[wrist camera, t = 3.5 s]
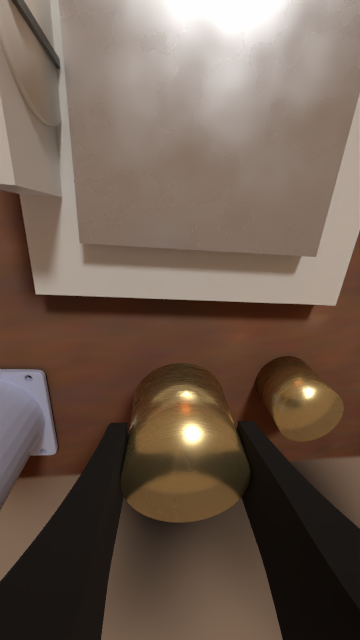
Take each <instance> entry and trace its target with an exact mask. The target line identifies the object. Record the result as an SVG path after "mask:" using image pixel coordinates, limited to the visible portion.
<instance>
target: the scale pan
mask: <svg viewBox="0 0 360 640" xmlns="http://www.w3.org/2000/svg"><path fill="white" fill-rule="evenodd" d="M58 1H59V12H60V24H61V35H62V47H63V58H64V70H65V81H66V93H67V104H68V116H69V127H70V139H71V150H72V162H73V173H74V185H75V196H76V208H77V219H78V231H79V242H80V243H84V244H101V245H119V246H136V247H153V248H170V249H187V250H205V251H222V252H239V253H256V254H273V255H290V256H308V257H316V255H317V252H318V248H319V244H320V240H321V237H322V233H323V229H324V225H325V222H326V218H327V214H328V210H329V207H330V203H331V199H332V195H333V192H334V188H335V184H336V180H337V177H338V173H339V169H340V165H341V162H342V158H343V154H344V150H345V147H346V143H347V139H348V135H349V132H350V128H351V124H352V120H353V117H354V113H355V109H356V105H357V102H358V98H359V94H360V0H58Z"/></svg>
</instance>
